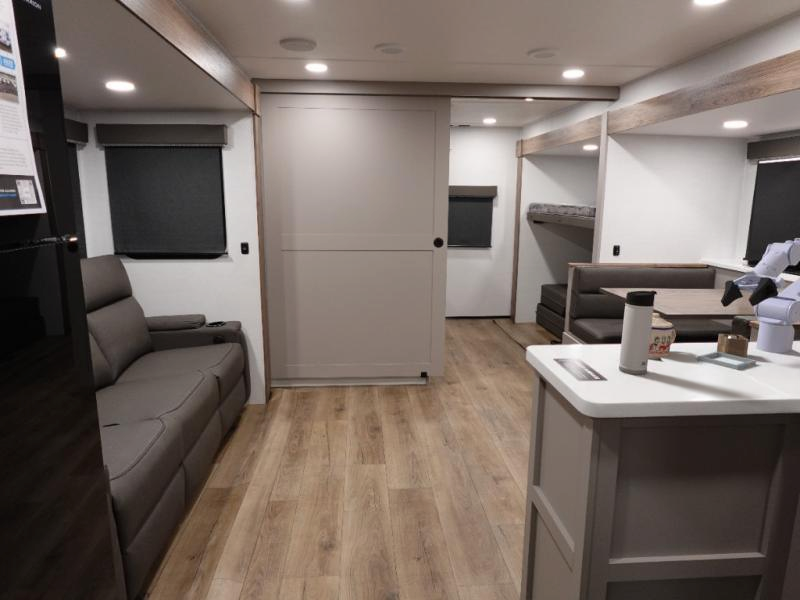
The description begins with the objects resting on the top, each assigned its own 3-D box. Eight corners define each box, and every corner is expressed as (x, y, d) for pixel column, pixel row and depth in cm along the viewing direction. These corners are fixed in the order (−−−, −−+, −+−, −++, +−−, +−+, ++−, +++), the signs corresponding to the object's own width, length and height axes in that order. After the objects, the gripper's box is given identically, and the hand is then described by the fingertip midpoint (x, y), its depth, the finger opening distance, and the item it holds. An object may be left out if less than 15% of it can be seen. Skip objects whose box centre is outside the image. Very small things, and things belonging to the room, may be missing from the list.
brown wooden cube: (716, 351, 149) (718, 333, 148) (738, 352, 148) (740, 335, 147) (723, 356, 143) (726, 338, 142) (746, 358, 142) (749, 339, 141)
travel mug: (650, 376, 128) (660, 293, 125) (621, 373, 129) (629, 291, 126) (644, 368, 134) (653, 289, 131) (616, 366, 135) (624, 287, 132)
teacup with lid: (650, 361, 141) (655, 317, 139) (625, 352, 149) (629, 311, 147) (685, 358, 145) (691, 315, 143) (659, 349, 153) (664, 309, 151)
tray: (716, 358, 145) (717, 351, 145) (755, 368, 137) (756, 360, 137) (697, 363, 140) (698, 356, 139) (736, 373, 132) (737, 365, 132)
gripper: (732, 263, 150) (705, 292, 145) (786, 257, 136) (757, 289, 132) (744, 284, 151) (716, 313, 147) (798, 280, 137) (770, 312, 133)
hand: (737, 303), depth 139 cm, fingers open, 7 cm apart
